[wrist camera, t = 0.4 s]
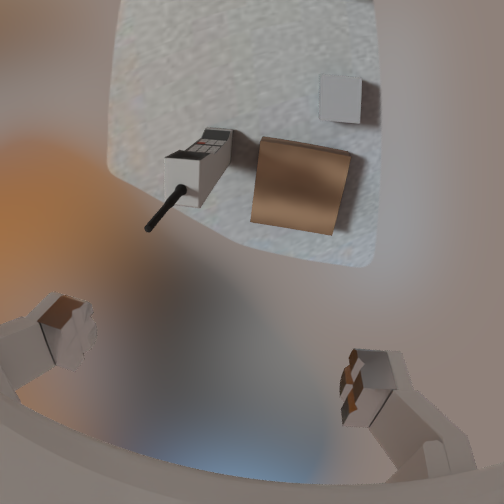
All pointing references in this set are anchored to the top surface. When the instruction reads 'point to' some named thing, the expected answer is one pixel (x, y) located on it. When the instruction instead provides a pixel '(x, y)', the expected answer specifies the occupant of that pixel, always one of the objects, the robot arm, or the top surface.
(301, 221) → the walnut stand
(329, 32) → the top surface
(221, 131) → the vintage mobile phone
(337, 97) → the grey plastic box
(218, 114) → the top surface
